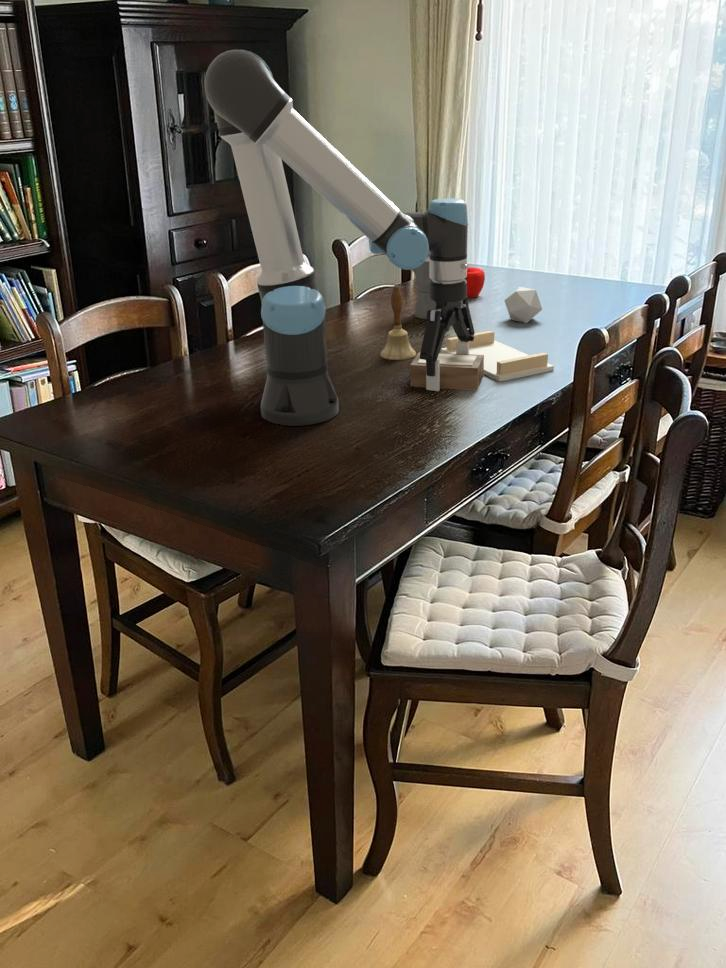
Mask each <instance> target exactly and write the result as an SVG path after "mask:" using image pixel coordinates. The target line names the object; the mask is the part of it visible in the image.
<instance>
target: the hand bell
mask: <svg viewBox="0 0 726 968" xmlns="http://www.w3.org/2000/svg"><path fill="white" fill-rule="evenodd" d="M403 301H404V300H403V296H402V292H401V289H400V286H399V285H393V288H392V292H391V296H390V304H391V309H392V312H393V329H392V330H390V331H388V334H387V340H386V341H387V342H386V345H385V347H384V349H383V350H381V351H380V354H379V355H380V357H381V358H382V359H385V360H391V361H405V360H410V359H414V358H415V357H416V356H417V351H415V350H414V348H413V347H412V346H411V343H410V340H409V334H408V331H406V330H405V329H403V328H402V317H401V312H402V310H403Z"/></svg>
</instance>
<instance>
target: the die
mask: <svg viewBox="0 0 726 968" xmlns="http://www.w3.org/2000/svg"><path fill="white" fill-rule="evenodd" d="M504 303H505V306H506V309H507V312H508V315H509V318H510V320H511V321H516V322H519V323H524V324H527V323H529V322H530V321H531V320H532V319H534V317H536V316H537V315H538V314H539V313H540V312H542V310H543V307H542V304H541V301H540V299H539V296H538V292H537V290H536V289H534V288H528V287H524V286H523V287H522V286H519V287H518V288H517V289H515V290H514V291H513V292H512V293H511V294H510V295H509V296H507V297H506V298H505V299H504Z"/></svg>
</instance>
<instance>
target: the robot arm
mask: <svg viewBox="0 0 726 968" xmlns="http://www.w3.org/2000/svg"><path fill="white" fill-rule="evenodd" d="M204 92H205V96H206V99H207V102H208V104H209V105H210V107H211V109H212V110H213V113H214V116H215V117H214V118H215V120H216V124H217V129H218V132H219V137H220V138H221V139H222V140H223V141H225V142H226V143H228V144H229V145H230V147H231V151H232V152H231V153H232V155H233V159H234V163H235V167H236V171H237V176H238V180H239V182H240V188H241V191H242V196H243V200H244V204H245V208H246V212H247V217H248V220H249V225H250V229H251V232H252V236H253V241H254V245H255V248H256V253H257V258H258V260H259V266H260V269H261V273H260V275H258V277H257V279H256V284H257V288H258V289H257V290H258V293H259V296H260V298H259V299H260V301H261V302H260V303H261V308H260V315H261V319H262V327H263V342H264V350H265V351H264V352H265V364H266V376H267V377H266V381H265V385H264V390H263V394H262V397H261V401H260V414H261V417H262V418H263V420H265V419H266V420H267V421H266V420H265V421H266V422H268V421H269V423H271V422H272V423H271V424H274V423H275V425H278V424H280V426H286V425H287V427H289V426H290V427H298V426H299V427H300V426H309V425H310V426H311V425H316V424H320V423H324V422H326V421H327V422H328V421H329V420H331V419H333V418H334V417H336V416H337V415H338V413H339V410H340V409H339V407H340V405H339V397H338V395H337V393H336V390H335V387H334V385H333V382H332V381H331V380H332V379H331V378H330V377H331V376H330V375H329V371H328V370H329V369H328V356H327V353H328V352H327V351H328V350H327V333H326V304H325V301H324V297H323V295H322V294H321V293H320V292H319V287H318V282H317V277H316V274H315V270H314V267H312V266H311V265H309V264H308V263H306V262H305V261H304V260H305V259H304V254H303V251H302V250H303V249H302V246H301V241H300V236H299V232H298V229H297V228H298V227H297V224H296V219H295V215H294V210H293V206H292V202H291V196H290V192H289V188H288V183H287V179H286V174H285V170H284V165H283V162H284V163H285V164H286V165H287V166H289V168H291V169H292V170H293V171H294V172H295V174H298V176H299V177H300V178H302V180H304V181H305V182H306V183H307V184H308V185H310V186H311V188H313V190H315V191H316V193H318V194H319V195H320V196H321V197H323V199H324V200H326V201H327V203H329V204H330V205H331V206H333V208H334V209H335V210H336V211H338V212H339V213H340V214H341V215H342V216H343V217H344V218H345V219H346V220H348V221H349V223H350V224H352V225H353V226H354V227H355V228H356V229H357V230H359V232H361V233H362V234H363V235H364V236H365V237H366V238H367V240H368V246H369V250H370V253H372V254H374V255H375V254H377V255H378V254H379V255H385V256H386V257H388V260H389V262H391V264H392V265H394V266H395V267H397V268H399V269H401V270H406V271H407V270H409V271H410V270H412V269H415V268H417V267H419V266H420V265H422V264H423V263H424V261H425V260H426V258H427V256H428V253H430V255H429V278H430V279H432V280H431V282H430V299H431V300H433V301H435V303H436V308H435V310H428V312H427V319H426V323H425V324H426V325H425V329H424V334H423V339H422V344H421V348H420V351H419V352H420V359H423V360H426V387H425V389H426V390H427V391H434V392H439V391H440V389H441V388H440V360H437V358H438V355H439V353H441V348H442V346H443V342H444V340H445V336H446V333H447V332H448V331H450V328H451V327H452V329H453V331H454V333H455V336H456V337H458V339H459V340H460V341H456V354H469V341H474V334H475V333H476V332H475V328H474V323H473V320H472V319H473V318H472V315H471V311H470V307H469V298H468V297H467V281H466V280H465V278H466V277H467V269H468V267H469V264H468V229H469V227H468V226H469V223H468V207H467V205H468V204H467V203H466V202H465V201H464V200H463V199H461V198H456V197H454V198H450V197H449V198H447V197H446V198H439V199H437V198H436V199H433V200H431V201H430V202H429V203H428V207H427V210H424V211H417V212H416V211H415V212H414V211H413V212H402V211H401V210H400V209H399V208H398V206H396V205H395V204H394V202H393V201H391V200H390V199H389V198H388V197H387V196H386V195H385V194H384V193H382V191H380V190H379V189H378V188H377V187H376V186H375V185H374V184H373V183H372V182H371V181H370V180H369V179H368V178H367V177H366V176H365V175H364V174H362V172H361V171H360V170H358V169H357V168H356V167H355V166H354V165H353V164H352V163H351V162H350V161H349V160H348V159H347V158H346V157H345V156H344V155H343V154H342V153H340V151H339V150H337V149H336V148H335V147H334V146H333V145H332V144H331V143H330V142H329V141H328V140H327V139H326V138H325V137H323V135H322V134H321V133H319V132H318V131H317V130H316V129H315V128H314V127H313V126H312V125H311V124H310V123H309V122H308V121H307V120H305V118H304V117H303V116H301V115H300V113H298V112H297V110H295V109H294V104H293V99H292V97H290V96H289V95H288V94H287V93H286V92H285V91H284V90H283V89H282V87H280V85H279V84H278V83H277V81H275V79H274V77H273V73H272V71H271V69H270V67H269V66H268V64H267V63H266V62H265V60H263V58H262V57H261V56H259V55H257V54H256V53H254V52H252V51H249V50H246V49H231V50H226V51H223V52H221V53H220V54H219V55H217V56H216V57H214V59H213V60H212V61H211V62H210V64H209V66H208V67H207V70H206V72H205V75H204Z"/></svg>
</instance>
